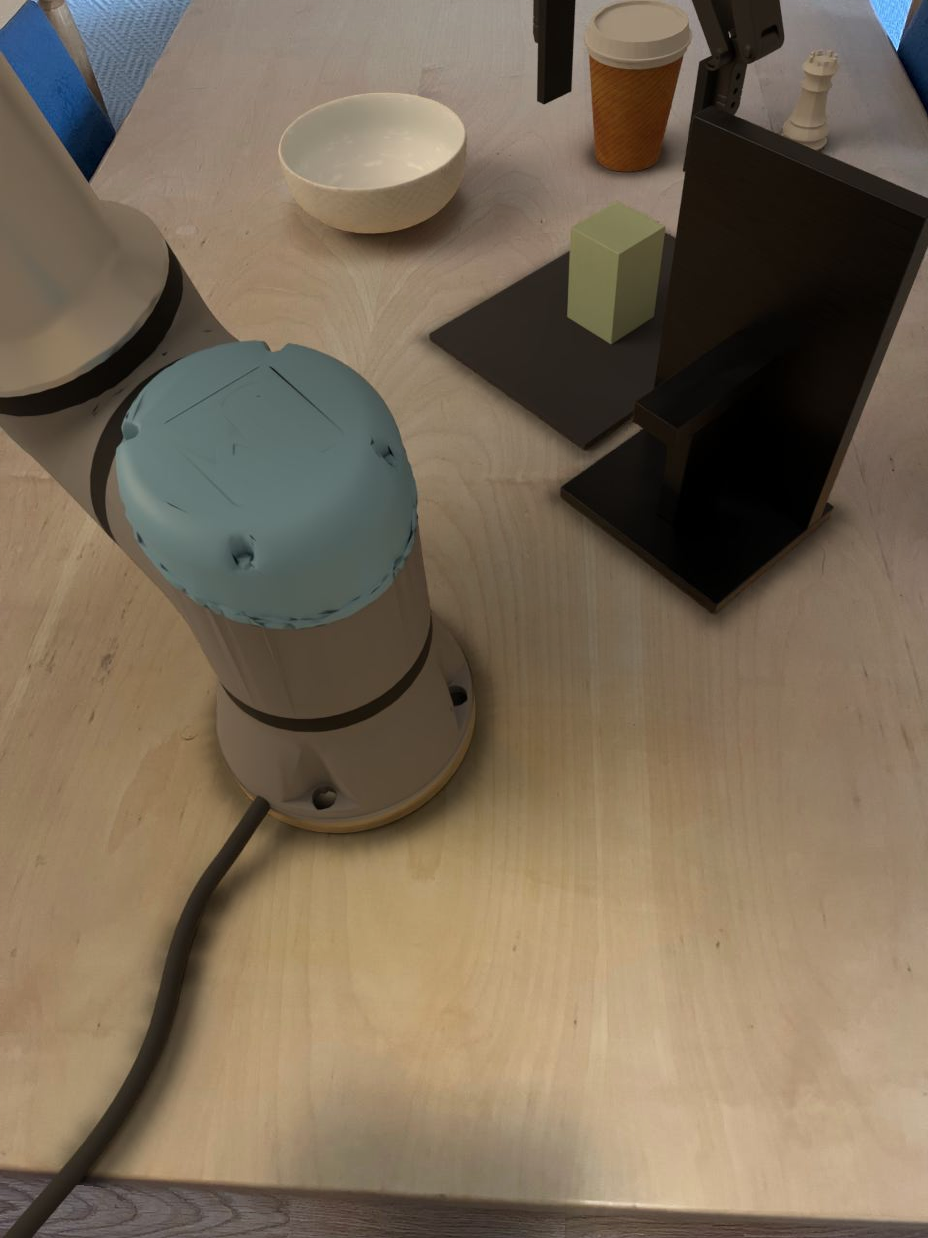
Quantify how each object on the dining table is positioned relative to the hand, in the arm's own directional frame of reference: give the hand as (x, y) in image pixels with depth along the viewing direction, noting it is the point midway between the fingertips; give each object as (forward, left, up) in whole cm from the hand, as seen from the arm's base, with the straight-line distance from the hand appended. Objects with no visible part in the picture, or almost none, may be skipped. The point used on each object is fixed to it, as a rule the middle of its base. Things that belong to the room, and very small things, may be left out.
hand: (623, 129), depth 62 cm
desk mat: (0, 0, -16) cm, 16 cm away
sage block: (0, 0, -15) cm, 15 cm away
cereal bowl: (-3, +27, -16) cm, 31 cm away
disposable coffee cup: (+20, +17, -16) cm, 31 cm away
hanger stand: (-11, -18, -16) cm, 26 cm away
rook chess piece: (+33, +6, -16) cm, 37 cm away
